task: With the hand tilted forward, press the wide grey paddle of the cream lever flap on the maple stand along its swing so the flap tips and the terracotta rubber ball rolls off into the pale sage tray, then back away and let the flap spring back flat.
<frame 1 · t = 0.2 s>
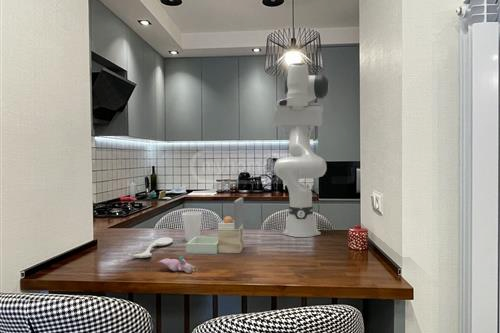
hand: (297, 136, 141), 47 cm above the breakfast bar, tool pointing down, fingers open, 8 cm apart
tray: (205, 249, 148), on the breakfast bar
ball: (228, 220, 146), point 12 cm above the breakfast bar, touching lever flap
lever flap: (230, 213, 146), point 15 cm above the breakfast bar, hinge at 0.0°, touching ball
rabbit figure: (177, 271, 120), on the breakfast bar
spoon: (153, 251, 148), on the breakfast bar
stand: (231, 249, 146), on the breakfast bar
foam cup: (192, 240, 166), on the breakfast bar
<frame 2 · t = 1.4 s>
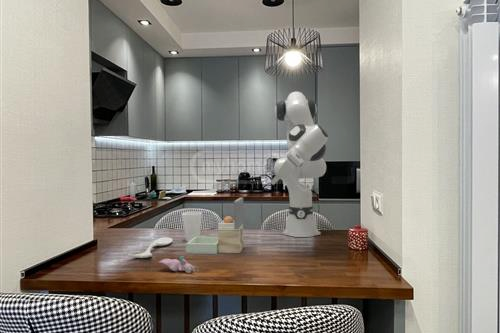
hand: (272, 182, 143), 28 cm above the breakfast bar, tool tilted 45°, fingers open, 8 cm apart
nothing on the breakfast bar moved.
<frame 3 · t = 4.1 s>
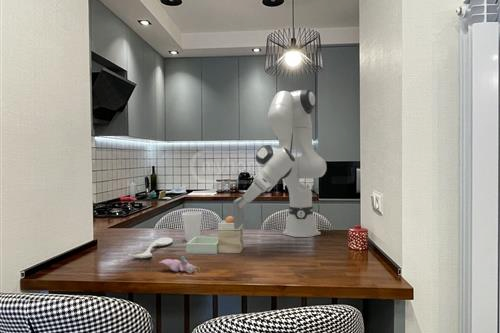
hand: (241, 205, 145), 19 cm above the breakfast bar, tool tilted 45°
ball: (230, 220, 146), point 12 cm above the breakfast bar, tilted 24°, touching lever flap
lever flap: (230, 213, 146), point 15 cm above the breakfast bar, hinge at 0.8°, touching ball, gripper
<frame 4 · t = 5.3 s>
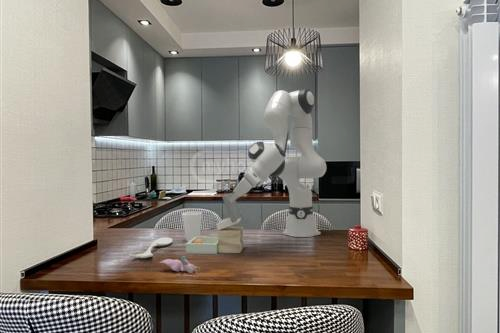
hand: (232, 200, 145), 21 cm above the breakfast bar, tool tilted 45°
ball: (198, 243, 148), point 3 cm above the breakfast bar, tilted 50°, touching tray
lever flap: (224, 211, 146), point 17 cm above the breakfast bar, hinge at 19.9°, touching gripper
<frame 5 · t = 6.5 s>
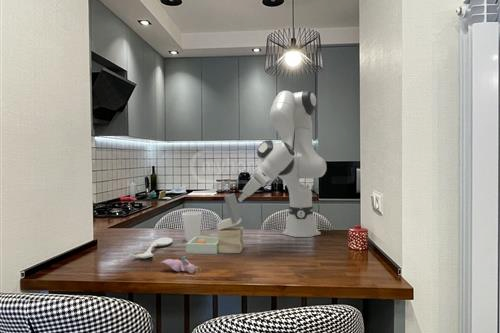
hand: (241, 199, 145), 22 cm above the breakfast bar, tool tilted 45°, fingers open, 8 cm apart
ball: (201, 243, 148), point 3 cm above the breakfast bar, tilted 16°, touching tray
lever flap: (225, 211, 146), point 16 cm above the breakfast bar, hinge at 16.5°
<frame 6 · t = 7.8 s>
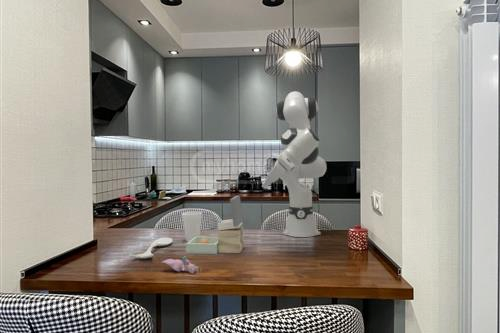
hand: (264, 186, 144), 27 cm above the breakfast bar, tool tilted 45°, fingers open, 8 cm apart
ball: (204, 243, 148), point 3 cm above the breakfast bar, tilted 21°, touching tray
lever flap: (228, 212, 146), point 16 cm above the breakfast bar, hinge at 7.0°
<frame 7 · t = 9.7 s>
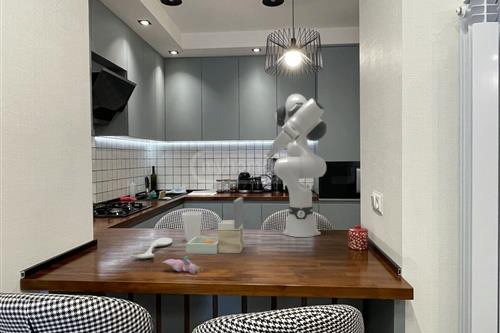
hand: (268, 156, 144), 39 cm above the breakfast bar, tool tilted 45°, fingers open, 8 cm apart
ball: (208, 243, 147), point 3 cm above the breakfast bar, tilted 76°, touching tray
lever flap: (230, 213, 146), point 15 cm above the breakfast bar, hinge at 0.8°
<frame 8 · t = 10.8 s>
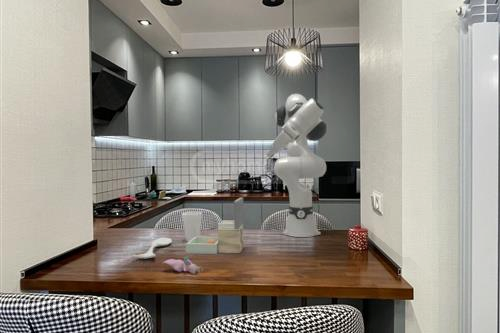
hand: (268, 156, 144), 39 cm above the breakfast bar, tool tilted 45°, fingers open, 8 cm apart
ball: (210, 243, 147), point 3 cm above the breakfast bar, tilted 107°, touching tray
lever flap: (230, 213, 146), point 15 cm above the breakfast bar, hinge at 0.0°
at the end: ball inside the target area (2.6 cm from its centre), point 2.6 cm above the breakfast bar; lever flap at +0° (first picture: +0°) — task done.
